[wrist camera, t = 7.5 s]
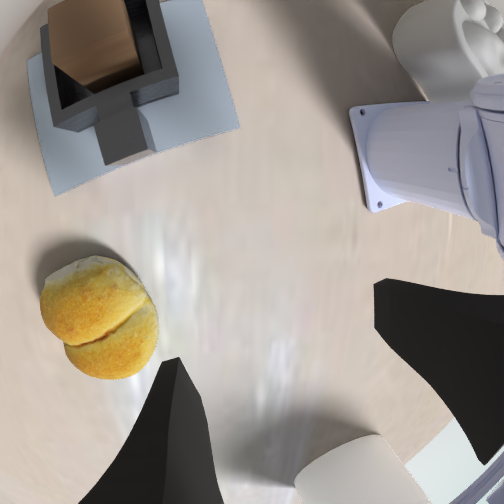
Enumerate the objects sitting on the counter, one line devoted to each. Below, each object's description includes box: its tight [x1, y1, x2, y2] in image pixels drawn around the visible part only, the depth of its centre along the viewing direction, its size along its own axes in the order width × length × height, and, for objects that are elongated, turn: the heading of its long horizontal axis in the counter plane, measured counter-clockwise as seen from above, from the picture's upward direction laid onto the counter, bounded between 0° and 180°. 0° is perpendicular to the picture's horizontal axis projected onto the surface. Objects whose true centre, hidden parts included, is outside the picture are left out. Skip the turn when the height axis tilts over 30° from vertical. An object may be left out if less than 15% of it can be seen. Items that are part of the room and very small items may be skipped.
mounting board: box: [27, 0, 240, 196], centre depth 13 cm, size 12×10×1 cm
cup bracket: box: [40, 0, 179, 166], centre depth 11 cm, size 6×9×4 cm
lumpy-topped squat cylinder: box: [392, 0, 504, 103], centre depth 14 cm, size 10×13×9 cm
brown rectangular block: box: [48, 0, 144, 94], centre depth 9 cm, size 3×3×6 cm
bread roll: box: [40, 255, 159, 380], centre depth 16 cm, size 8×9×4 cm
